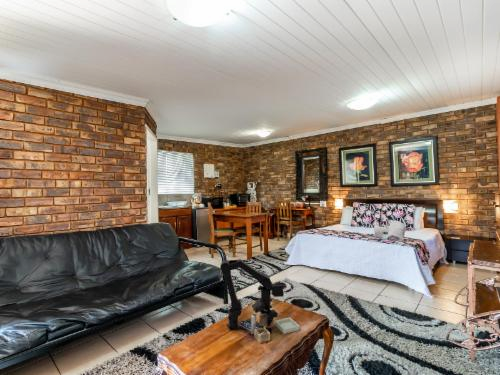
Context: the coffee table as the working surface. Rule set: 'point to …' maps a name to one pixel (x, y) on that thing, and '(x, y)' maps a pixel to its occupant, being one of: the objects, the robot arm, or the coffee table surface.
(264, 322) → the walnut block
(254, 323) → the cylinder
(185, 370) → the coffee table surface
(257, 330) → the beige square frame
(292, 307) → the coffee table surface
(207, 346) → the coffee table surface
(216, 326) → the coffee table surface
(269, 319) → the robot arm
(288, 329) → the tray
